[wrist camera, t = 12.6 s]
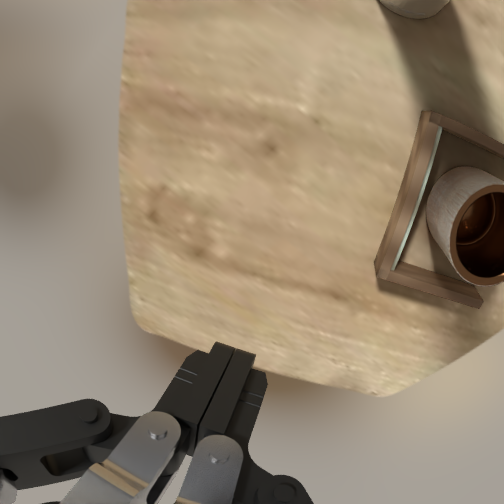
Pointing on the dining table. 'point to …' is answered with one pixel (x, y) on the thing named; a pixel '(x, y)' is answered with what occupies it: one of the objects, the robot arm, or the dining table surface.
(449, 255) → the planter
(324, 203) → the dining table surface
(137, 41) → the dining table surface
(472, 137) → the bay
